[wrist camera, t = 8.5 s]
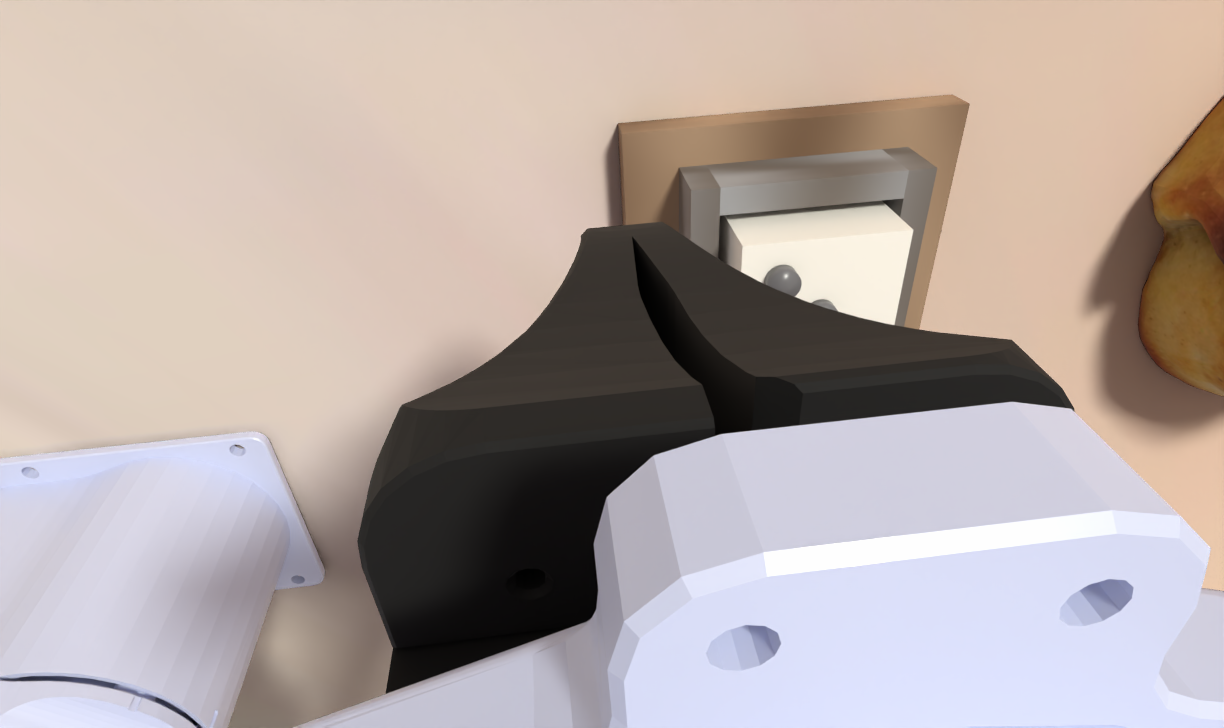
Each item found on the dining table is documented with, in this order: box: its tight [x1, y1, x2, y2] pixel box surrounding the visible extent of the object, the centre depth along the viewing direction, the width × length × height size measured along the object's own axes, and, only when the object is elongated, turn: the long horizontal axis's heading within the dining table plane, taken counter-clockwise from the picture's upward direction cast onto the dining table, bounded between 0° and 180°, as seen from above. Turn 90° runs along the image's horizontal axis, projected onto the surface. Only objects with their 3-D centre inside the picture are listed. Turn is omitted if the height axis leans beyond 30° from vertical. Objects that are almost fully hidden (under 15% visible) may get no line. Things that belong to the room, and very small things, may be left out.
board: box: [618, 95, 969, 329], centre depth 26 cm, size 10×21×3 cm, turn 3°
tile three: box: [718, 201, 913, 325], centre depth 21 cm, size 5×5×3 cm
